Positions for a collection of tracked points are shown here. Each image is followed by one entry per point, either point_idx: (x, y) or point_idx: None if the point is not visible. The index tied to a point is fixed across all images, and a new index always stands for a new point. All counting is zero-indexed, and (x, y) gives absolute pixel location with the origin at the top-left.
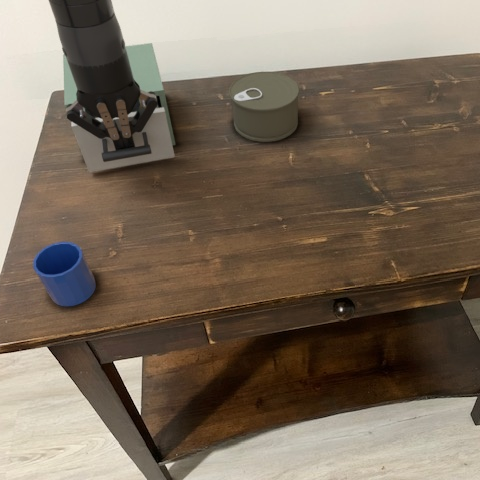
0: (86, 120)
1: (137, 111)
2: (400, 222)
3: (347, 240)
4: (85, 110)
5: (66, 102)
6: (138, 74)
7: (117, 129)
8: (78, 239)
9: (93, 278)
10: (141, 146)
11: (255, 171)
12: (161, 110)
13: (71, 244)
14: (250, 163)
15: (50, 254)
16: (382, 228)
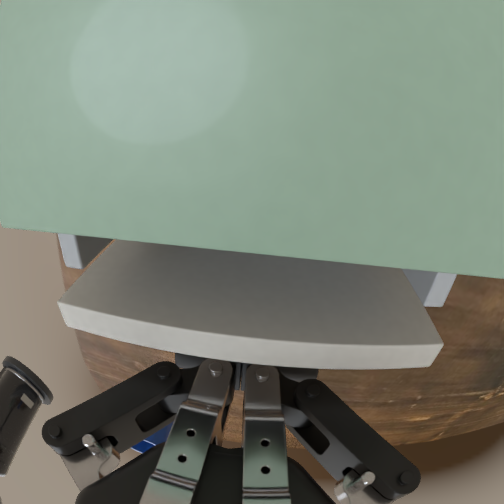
0: (124, 445)
1: (325, 430)
2: (483, 405)
3: (440, 419)
4: (113, 458)
5: (2, 211)
6: (475, 22)
7: (228, 395)
8: (150, 356)
9: None
10: (292, 377)
11: (465, 321)
12: (424, 361)
13: (153, 444)
14: (473, 301)
15: None
16: (469, 410)
